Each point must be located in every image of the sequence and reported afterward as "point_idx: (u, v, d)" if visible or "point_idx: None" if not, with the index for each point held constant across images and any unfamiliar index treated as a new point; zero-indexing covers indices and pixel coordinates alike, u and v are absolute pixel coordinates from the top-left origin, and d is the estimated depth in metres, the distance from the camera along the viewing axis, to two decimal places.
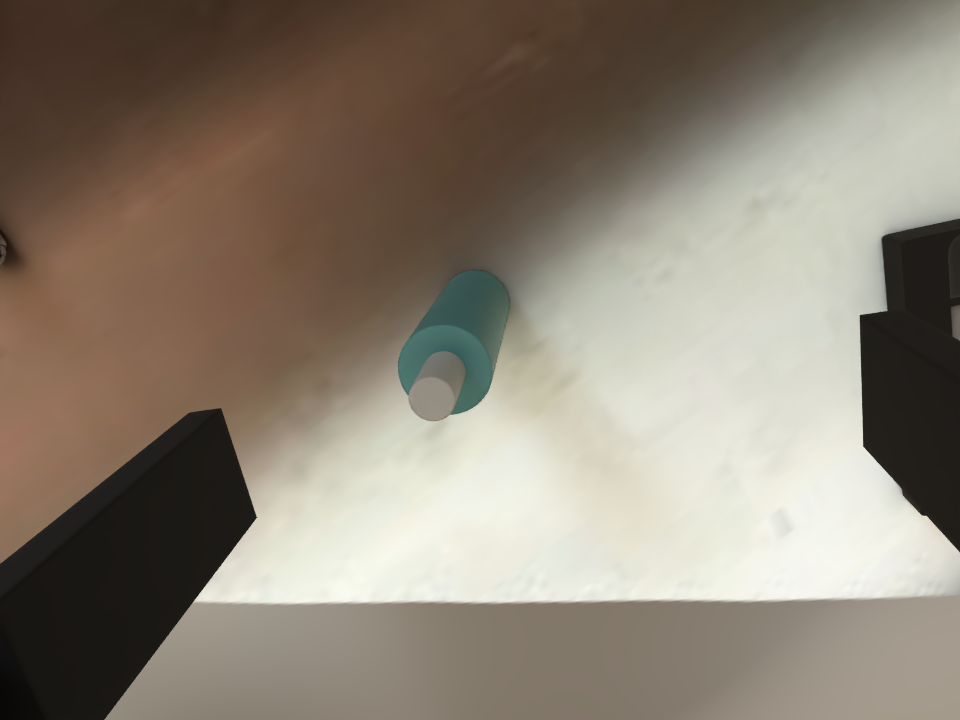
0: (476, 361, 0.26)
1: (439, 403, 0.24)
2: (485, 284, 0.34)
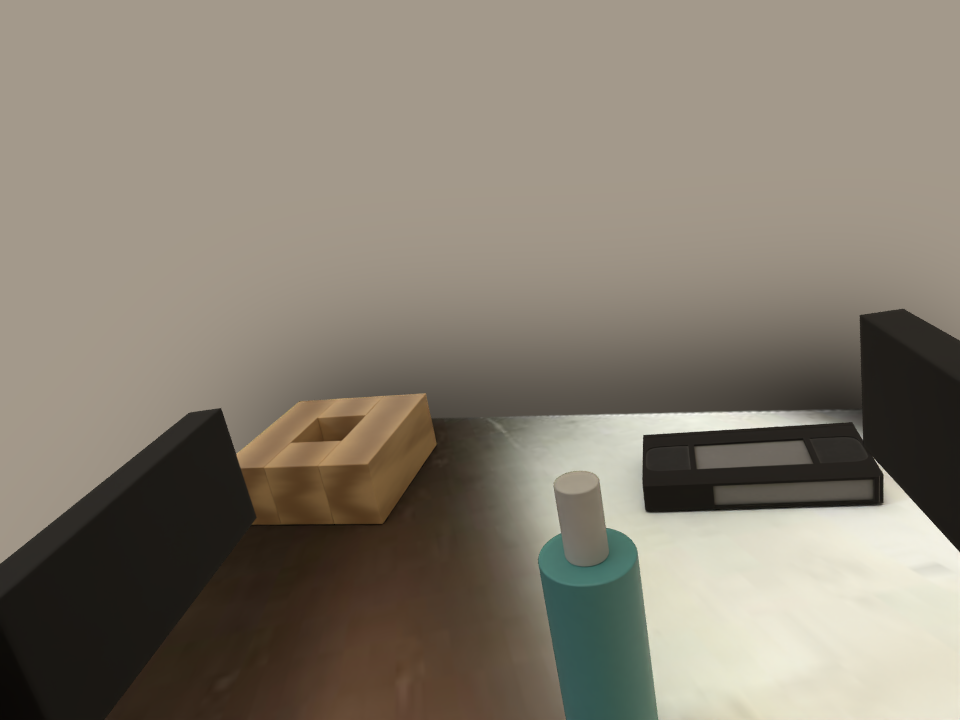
0: None
1: (581, 478, 0.25)
2: None
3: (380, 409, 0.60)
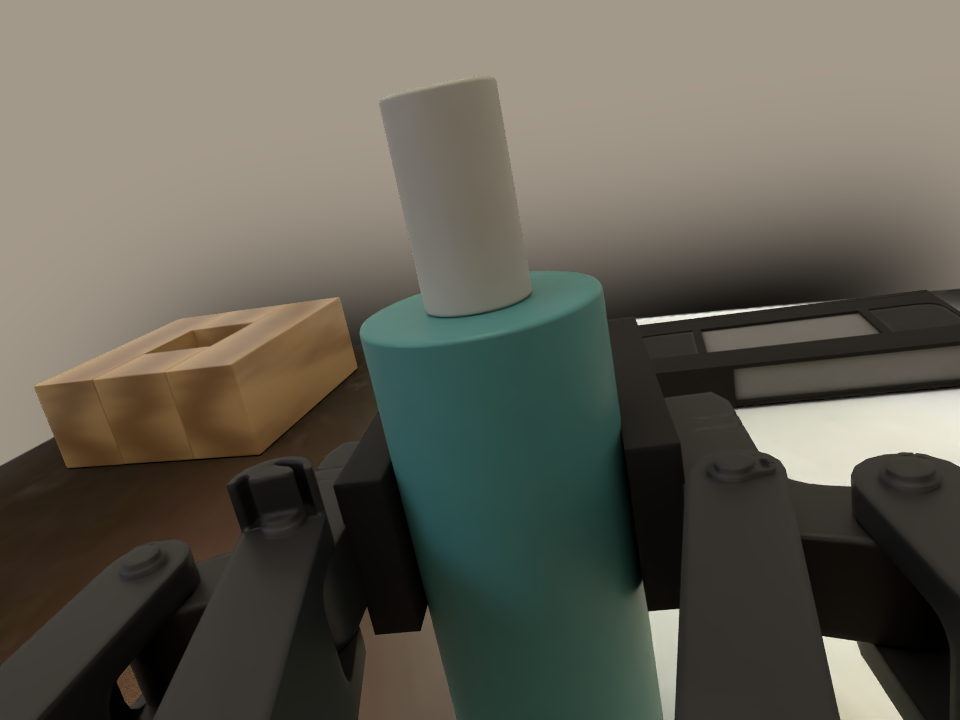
0: None
1: None
2: None
3: (275, 315, 0.44)
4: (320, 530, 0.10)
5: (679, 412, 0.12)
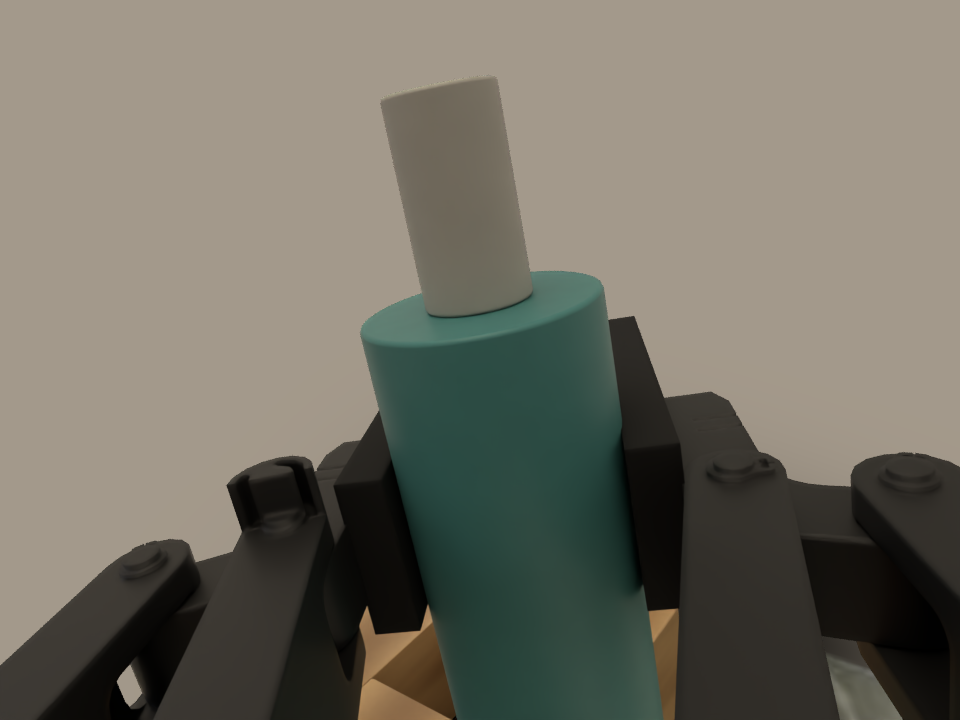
0: None
1: None
2: None
3: None
4: (320, 530, 0.10)
5: (679, 412, 0.12)
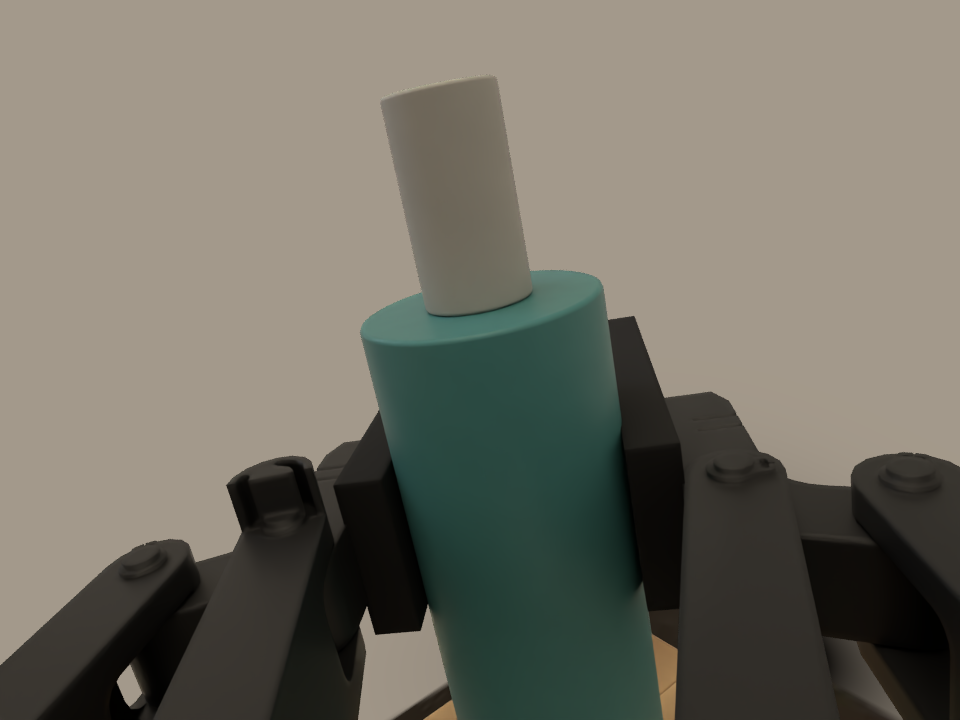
0: None
1: None
2: None
3: None
4: (320, 530, 0.10)
5: (679, 412, 0.12)
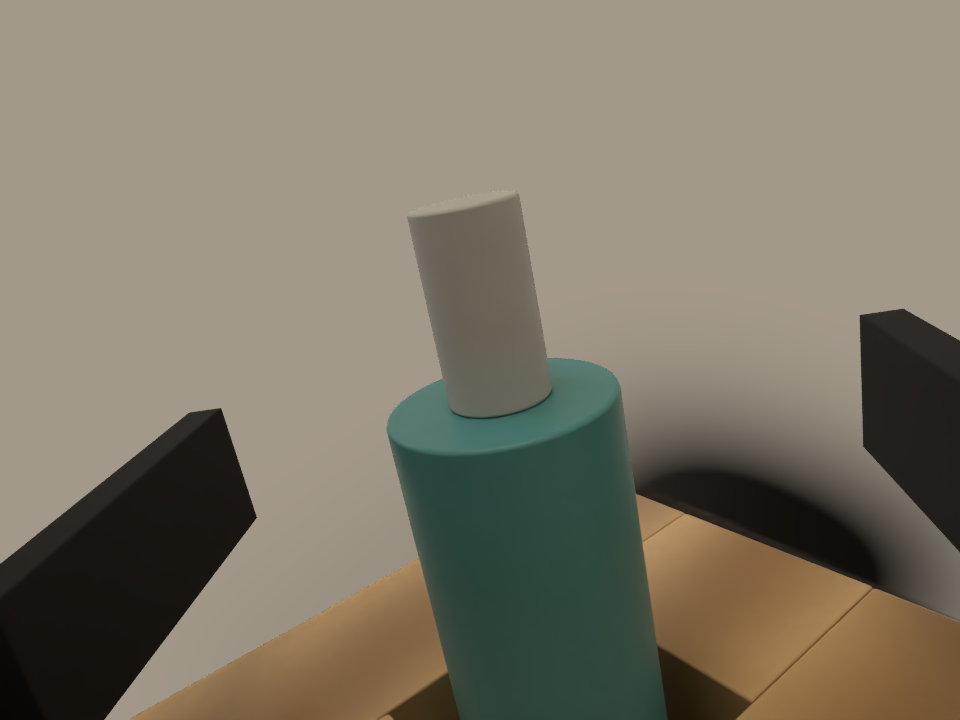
0: None
1: (478, 197, 0.10)
2: None
3: (837, 697, 0.12)
4: None
5: None
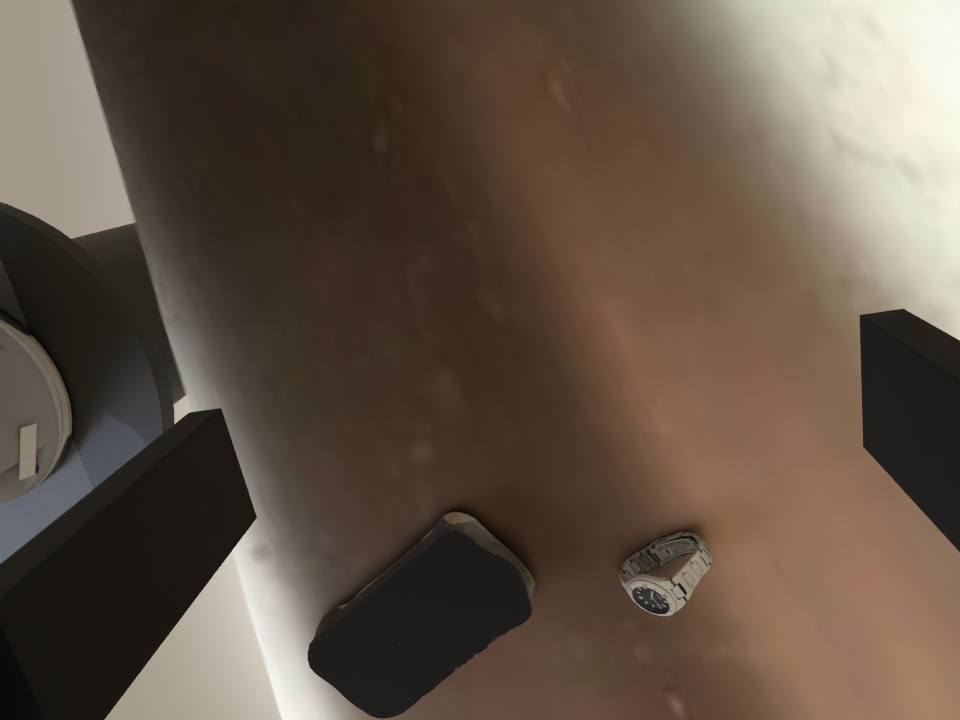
0: None
1: None
2: None
3: None
4: None
5: None
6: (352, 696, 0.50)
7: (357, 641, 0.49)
